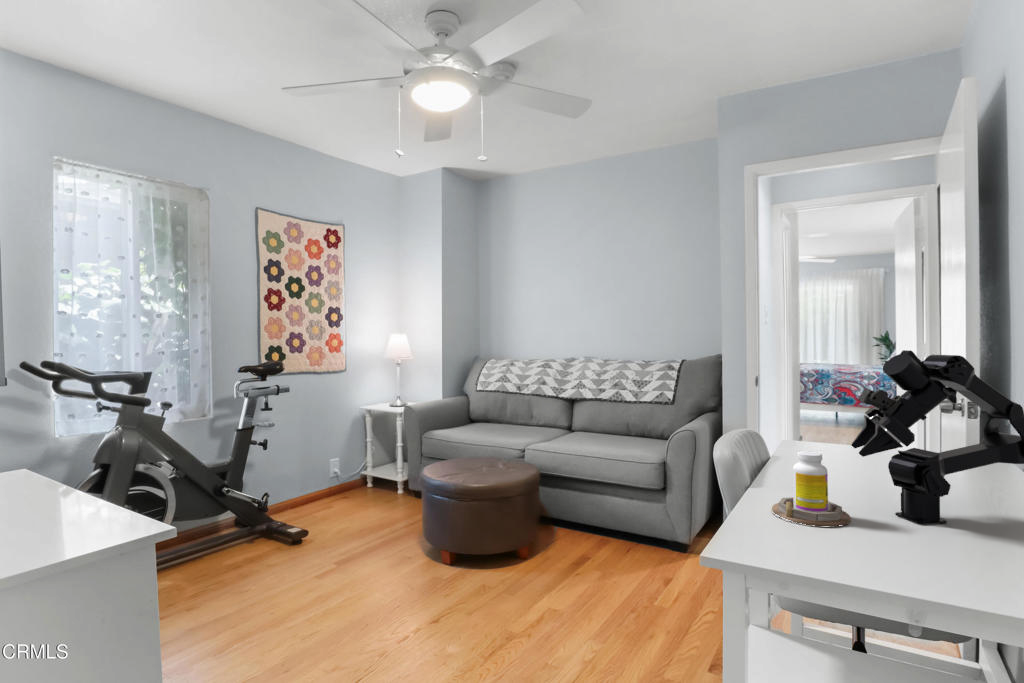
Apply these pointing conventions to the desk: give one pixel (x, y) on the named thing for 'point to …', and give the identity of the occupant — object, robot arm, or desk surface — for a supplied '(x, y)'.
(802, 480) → the supplement bottle
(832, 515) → the collar plate
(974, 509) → the desk surface
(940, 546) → the desk surface
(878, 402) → the robot arm
